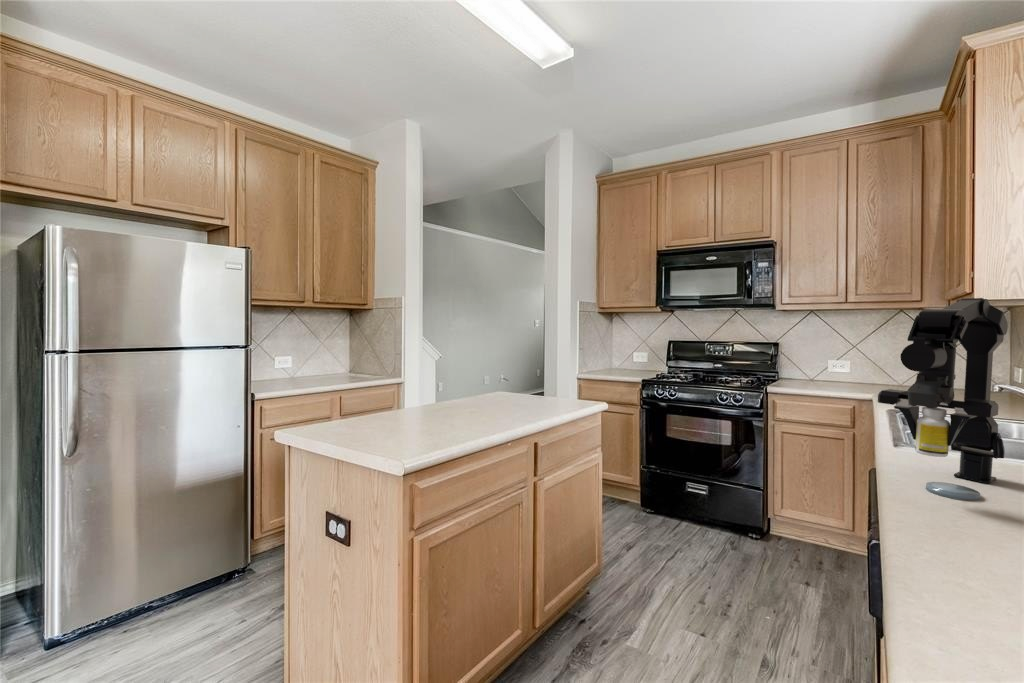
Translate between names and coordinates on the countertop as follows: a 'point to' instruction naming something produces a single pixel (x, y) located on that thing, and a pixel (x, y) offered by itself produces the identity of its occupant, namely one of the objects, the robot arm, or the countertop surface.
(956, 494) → the dish
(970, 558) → the countertop surface
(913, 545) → the countertop surface
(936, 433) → the supplement bottle
